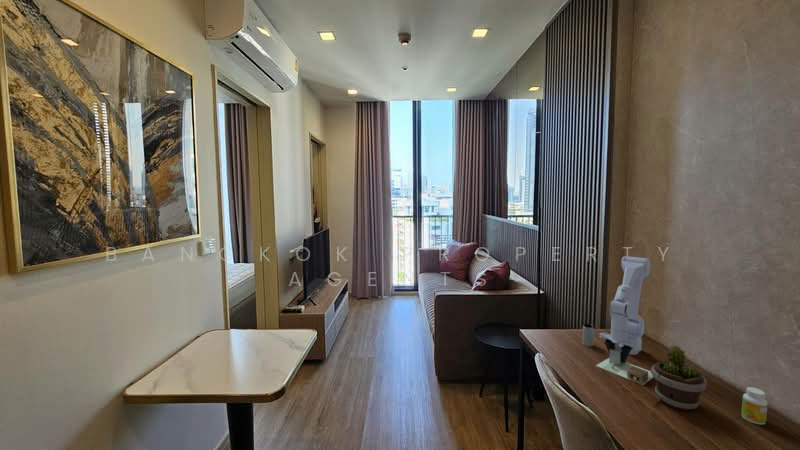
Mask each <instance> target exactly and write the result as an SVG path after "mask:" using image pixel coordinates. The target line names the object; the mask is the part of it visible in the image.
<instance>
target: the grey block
mask: <svg viewBox="0 0 800 450" xmlns="http://www.w3.org/2000/svg"><path fill="white" fill-rule="evenodd" d="M608 356H609V357H608V358H609V363H614V365H617V366H619V367H620V366H621V364H622V350H621V347H620V346H619V345H617V344H615V346H614V347H612V348H611V349H610V355H608ZM626 362H627V361H626ZM626 362H625V363H626Z"/></svg>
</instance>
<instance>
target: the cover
mask: <svg viewBox="0 0 800 450" xmlns="http://www.w3.org/2000/svg"><path fill="white" fill-rule="evenodd" d="M637 367H638V366H637ZM637 367H634V366H633V367H631V368H630V369H628V372H627V377H628V378H632V377H633V376H634V375H635V376H638V377H639V382H640V383H643V382H645V381H646V380H647V379H648V371H649V370H648V371H645V370H642V369H640V368H641V367H640V368H637Z"/></svg>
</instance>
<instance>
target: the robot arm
mask: <svg viewBox="0 0 800 450" xmlns="http://www.w3.org/2000/svg"><path fill="white" fill-rule="evenodd" d="M620 262H621V264H620V265H621V268H622V271H623V278H622V284H621V285H618V287H617V289H616V293H615V295H614V299H613V300H611V301H610V303H609V316H610V318H611V320H610V323H611V324H610V334H609V333H605V332H600V333H599V335H598V336H599V337H598V338H599V339H603V340H605V341H604V346H605V348H607V351H608V354H609V355H610V349H611V348H612V347H614V346H616V345H617V344H618V346H620V347H621V350H622V363H625V362H627V358H628V356H629V355H630V356H631V355H632V356H633V355H634V356H635V355H638V354H639V352H641V351H642V344H643V339H642V337H643V335H644V332H645V320H644V318H643V317H641V316H640V315H639V314H638V313H639V307H640V299H641V293H642V285H643V281H644V279H645V278H649V275H650V270H651V260H650V259H649V258H648V257H646V258H645V257H636V256H628V255H623V257H622V258H621V261H620ZM609 355H608V356H609Z"/></svg>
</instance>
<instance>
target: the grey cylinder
mask: <svg viewBox="0 0 800 450" xmlns="http://www.w3.org/2000/svg"><path fill="white" fill-rule="evenodd" d="M594 332H595V326H594V325H593V324H590V323H583V324H582V340H581V341H582V342H581V343H582V345H583V346H585V347H593V346H594V339H595V338H594V337H595V336H594Z"/></svg>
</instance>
